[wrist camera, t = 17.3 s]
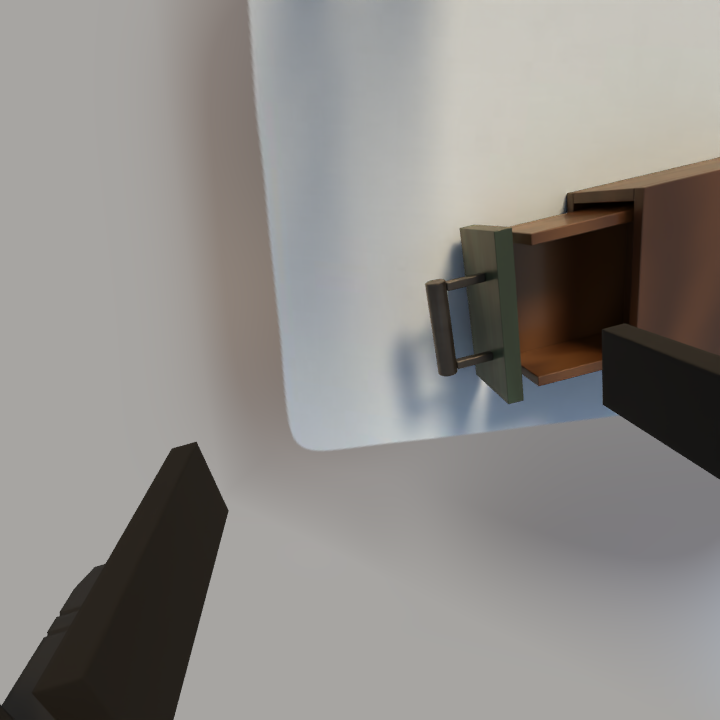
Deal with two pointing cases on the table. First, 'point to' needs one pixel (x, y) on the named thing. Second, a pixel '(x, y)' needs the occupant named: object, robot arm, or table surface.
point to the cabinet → (671, 250)
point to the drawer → (538, 297)
